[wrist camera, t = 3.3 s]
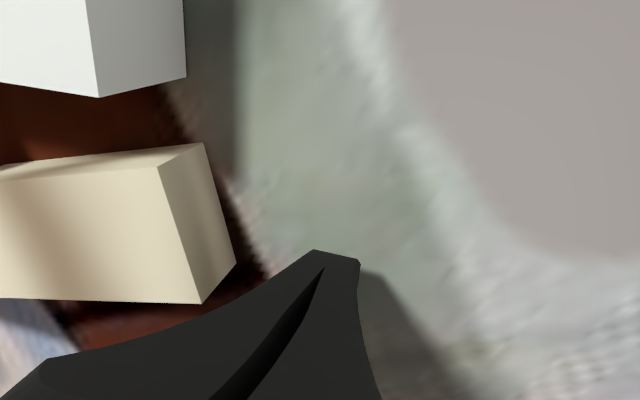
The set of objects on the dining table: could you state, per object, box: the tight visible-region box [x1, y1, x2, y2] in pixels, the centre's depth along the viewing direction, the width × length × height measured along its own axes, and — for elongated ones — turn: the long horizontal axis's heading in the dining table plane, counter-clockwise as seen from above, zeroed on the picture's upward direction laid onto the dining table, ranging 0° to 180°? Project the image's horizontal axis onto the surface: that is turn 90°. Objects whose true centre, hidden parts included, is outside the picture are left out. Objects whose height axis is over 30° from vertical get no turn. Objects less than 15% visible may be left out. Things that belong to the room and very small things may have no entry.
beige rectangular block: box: [0, 142, 236, 304], centre depth 13 cm, size 8×4×2 cm, turn 100°
